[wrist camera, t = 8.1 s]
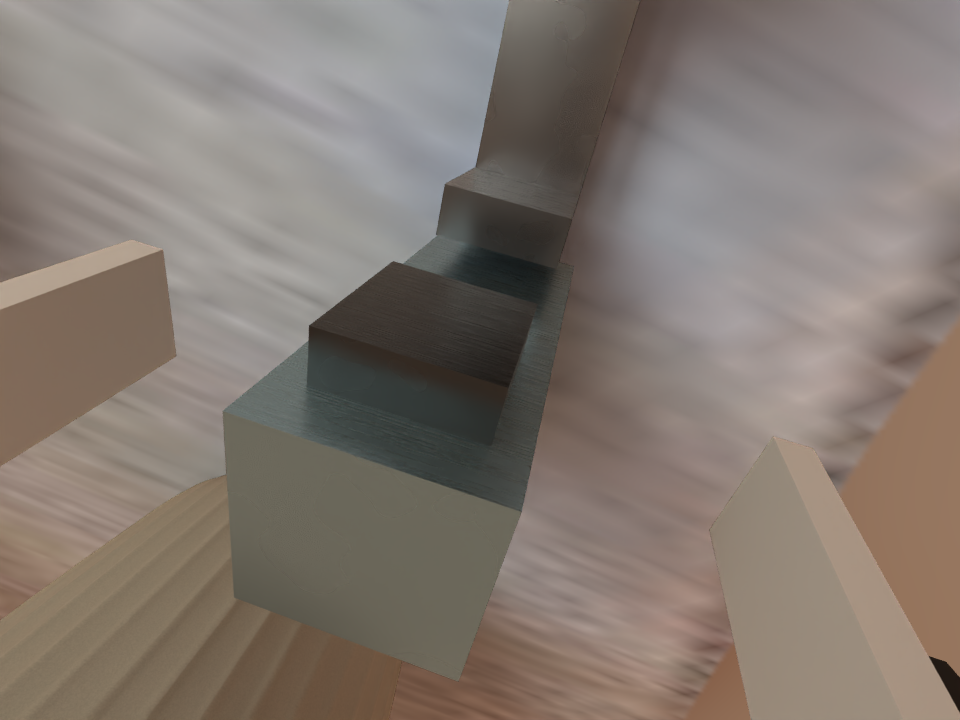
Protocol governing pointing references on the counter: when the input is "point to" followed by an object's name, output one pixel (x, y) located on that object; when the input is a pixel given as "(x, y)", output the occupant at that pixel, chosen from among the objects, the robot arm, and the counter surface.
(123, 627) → the canister
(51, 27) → the counter surface
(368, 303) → the grey rectangular block
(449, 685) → the counter surface
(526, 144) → the rail
